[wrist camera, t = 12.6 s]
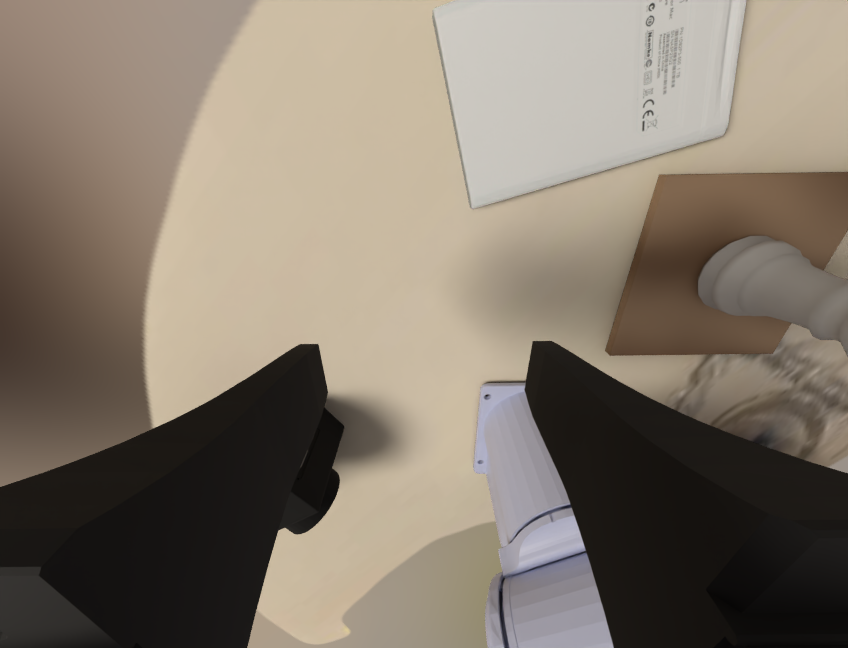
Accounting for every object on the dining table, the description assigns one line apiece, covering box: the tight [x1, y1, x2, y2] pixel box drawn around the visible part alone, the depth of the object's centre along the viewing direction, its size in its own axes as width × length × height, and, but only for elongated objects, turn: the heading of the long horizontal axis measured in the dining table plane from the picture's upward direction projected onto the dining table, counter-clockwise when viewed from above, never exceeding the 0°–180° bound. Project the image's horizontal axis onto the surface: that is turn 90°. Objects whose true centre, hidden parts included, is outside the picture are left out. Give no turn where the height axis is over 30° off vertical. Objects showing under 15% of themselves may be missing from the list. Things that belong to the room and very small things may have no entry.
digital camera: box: [278, 408, 344, 534], centre depth 22 cm, size 10×5×7 cm, turn 124°
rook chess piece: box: [698, 236, 848, 356], centre depth 15 cm, size 4×4×8 cm
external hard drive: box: [432, 0, 746, 209], centre depth 14 cm, size 2×8×12 cm
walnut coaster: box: [605, 172, 848, 356], centre depth 18 cm, size 11×11×1 cm
